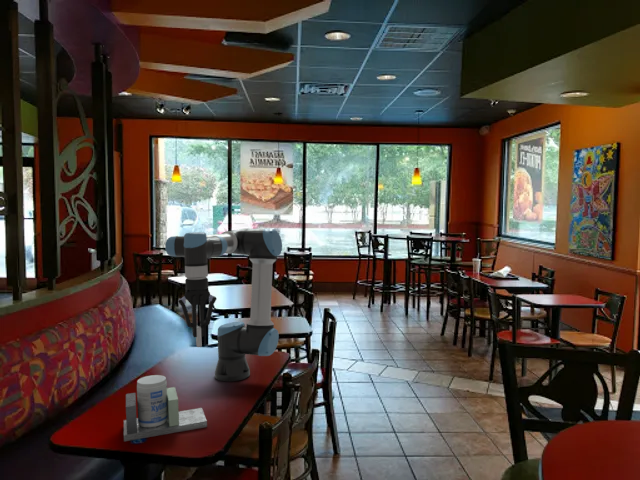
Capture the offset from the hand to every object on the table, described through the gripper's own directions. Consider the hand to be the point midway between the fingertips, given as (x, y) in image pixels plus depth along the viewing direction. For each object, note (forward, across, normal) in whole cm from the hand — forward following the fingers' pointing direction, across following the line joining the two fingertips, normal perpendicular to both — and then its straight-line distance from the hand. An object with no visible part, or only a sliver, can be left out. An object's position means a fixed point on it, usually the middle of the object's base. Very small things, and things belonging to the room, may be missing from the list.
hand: (199, 345), depth 169 cm
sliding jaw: (+24, +10, 0) cm, 26 cm away
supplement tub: (+24, +16, 0) cm, 29 cm away
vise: (+26, +12, 0) cm, 29 cm away
